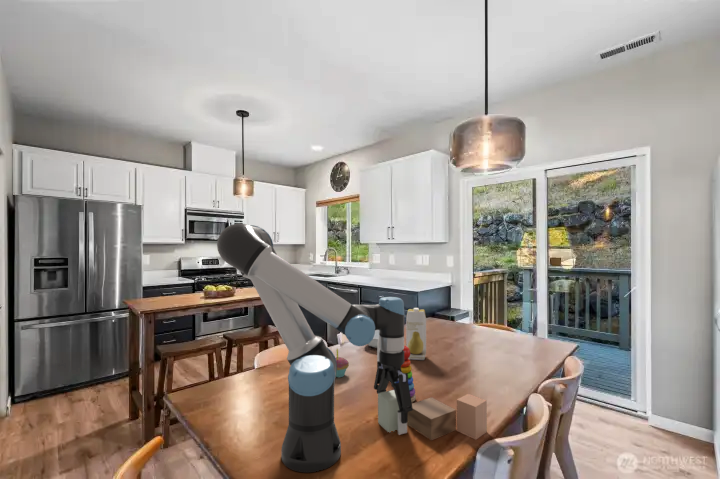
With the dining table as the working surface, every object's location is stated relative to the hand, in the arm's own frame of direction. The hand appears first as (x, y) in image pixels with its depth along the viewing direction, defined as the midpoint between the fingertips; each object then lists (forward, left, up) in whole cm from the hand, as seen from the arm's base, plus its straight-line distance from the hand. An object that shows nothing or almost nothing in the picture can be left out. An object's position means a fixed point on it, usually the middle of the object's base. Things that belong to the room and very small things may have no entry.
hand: (391, 423), depth 103 cm
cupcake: (+1, +44, -1) cm, 44 cm away
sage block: (0, 0, -1) cm, 1 cm away
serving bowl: (+38, +72, -1) cm, 81 cm away
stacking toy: (+13, +13, -1) cm, 18 cm away
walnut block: (+10, -6, -1) cm, 12 cm away
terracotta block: (+19, -13, -1) cm, 23 cm away
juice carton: (+43, +48, -1) cm, 64 cm away
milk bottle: (+21, +39, -1) cm, 44 cm away
